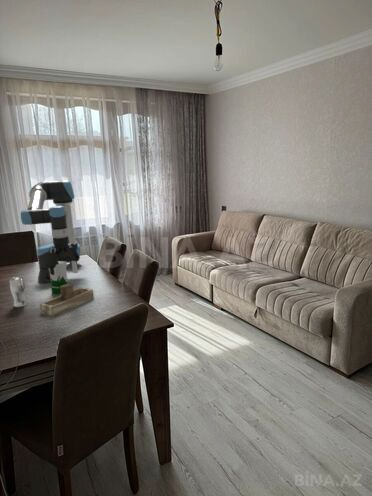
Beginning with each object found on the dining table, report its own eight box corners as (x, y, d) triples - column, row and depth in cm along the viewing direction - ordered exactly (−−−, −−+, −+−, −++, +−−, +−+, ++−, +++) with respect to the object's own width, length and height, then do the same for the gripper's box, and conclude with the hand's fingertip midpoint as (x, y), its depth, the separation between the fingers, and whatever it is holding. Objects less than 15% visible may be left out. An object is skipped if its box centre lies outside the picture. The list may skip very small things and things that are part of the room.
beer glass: (16, 303, 190) (12, 277, 187) (29, 302, 191) (25, 276, 187) (11, 308, 183) (6, 281, 180) (24, 307, 184) (20, 280, 180)
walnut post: (62, 304, 183) (60, 286, 181) (68, 301, 187) (66, 283, 185) (68, 305, 181) (66, 287, 179) (74, 302, 185) (72, 284, 182)
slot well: (41, 313, 175) (39, 304, 174) (81, 295, 198) (80, 287, 197) (53, 316, 170) (52, 307, 169) (93, 298, 193) (92, 289, 192)
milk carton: (49, 294, 203) (45, 261, 198) (59, 288, 211) (55, 257, 206) (61, 295, 200) (57, 261, 195) (71, 290, 208) (68, 257, 204)
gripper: (44, 242, 163) (50, 284, 168) (83, 232, 184) (87, 270, 189) (34, 241, 167) (40, 282, 172) (73, 231, 188) (78, 269, 193)
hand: (65, 276), depth 181 cm, fingers open, 13 cm apart
